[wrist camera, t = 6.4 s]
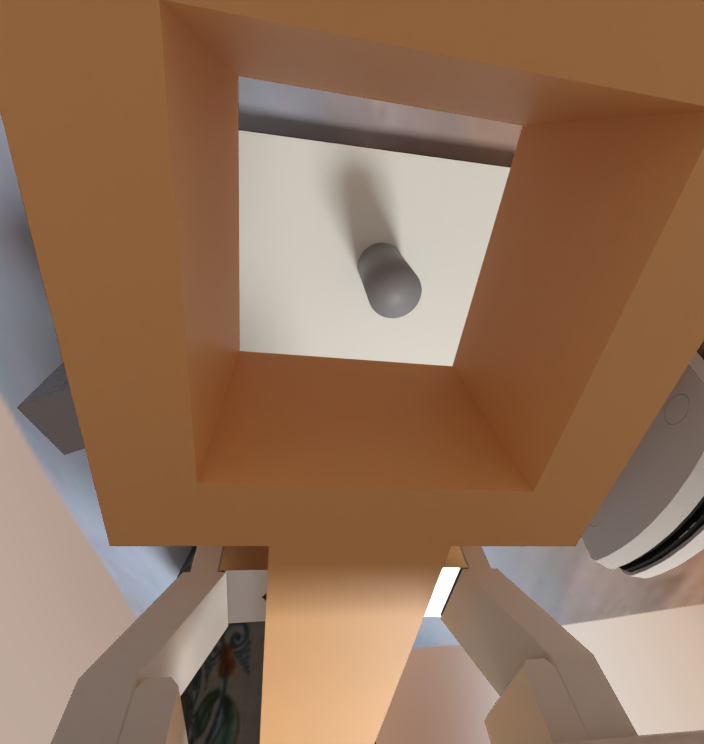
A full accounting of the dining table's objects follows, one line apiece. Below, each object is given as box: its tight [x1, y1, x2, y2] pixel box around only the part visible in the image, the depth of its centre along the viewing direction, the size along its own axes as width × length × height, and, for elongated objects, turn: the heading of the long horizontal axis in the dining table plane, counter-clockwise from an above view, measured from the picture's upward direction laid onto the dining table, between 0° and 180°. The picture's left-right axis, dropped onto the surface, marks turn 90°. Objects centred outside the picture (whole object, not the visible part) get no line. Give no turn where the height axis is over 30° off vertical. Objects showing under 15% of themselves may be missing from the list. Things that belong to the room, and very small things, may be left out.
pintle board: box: [239, 130, 511, 366], centre depth 20 cm, size 14×23×5 cm, turn 83°
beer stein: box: [177, 546, 376, 744], centre depth 25 cm, size 16×19×25 cm
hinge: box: [581, 352, 704, 578], centre depth 29 cm, size 17×5×10 cm, turn 167°
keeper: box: [17, 362, 85, 455], centre depth 21 cm, size 7×3×7 cm, turn 108°
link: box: [0, 0, 704, 744], centre depth 9 cm, size 18×8×4 cm, turn 172°
